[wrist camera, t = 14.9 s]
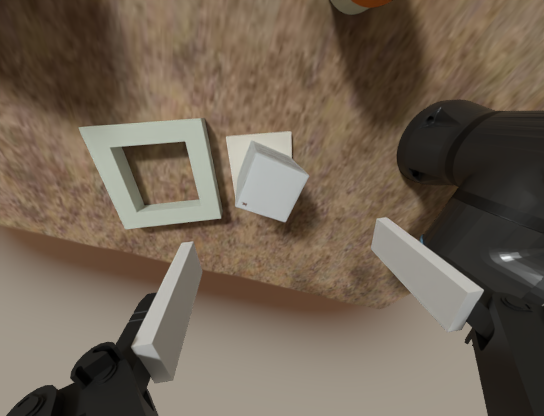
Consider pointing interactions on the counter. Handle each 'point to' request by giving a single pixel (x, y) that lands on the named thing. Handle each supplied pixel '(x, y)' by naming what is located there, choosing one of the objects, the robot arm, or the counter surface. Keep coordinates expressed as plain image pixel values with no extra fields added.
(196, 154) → the holder
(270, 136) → the tile
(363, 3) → the reusable coffee cup
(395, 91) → the counter surface
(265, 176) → the supplement box
